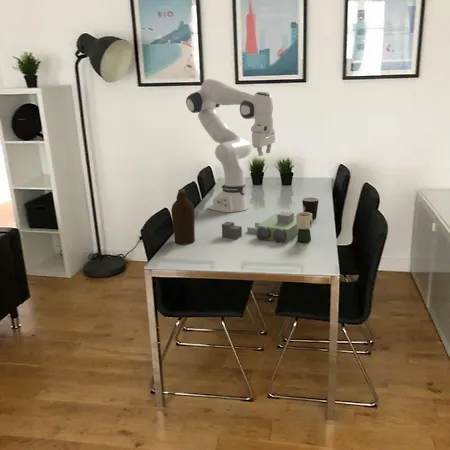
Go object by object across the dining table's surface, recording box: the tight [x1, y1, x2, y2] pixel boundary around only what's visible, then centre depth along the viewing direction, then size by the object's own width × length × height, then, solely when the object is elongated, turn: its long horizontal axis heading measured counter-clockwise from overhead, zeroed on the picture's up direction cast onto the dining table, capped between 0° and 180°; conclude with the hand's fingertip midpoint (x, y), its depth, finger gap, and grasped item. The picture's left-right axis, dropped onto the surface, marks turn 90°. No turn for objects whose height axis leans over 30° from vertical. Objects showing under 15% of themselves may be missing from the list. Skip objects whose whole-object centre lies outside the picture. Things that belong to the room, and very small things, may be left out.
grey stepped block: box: [221, 221, 243, 240], centre depth 245 cm, size 8×5×6 cm, turn 61°
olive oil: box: [170, 188, 196, 246], centre depth 238 cm, size 11×11×25 cm
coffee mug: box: [301, 196, 320, 220], centre depth 272 cm, size 12×9×10 cm
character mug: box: [295, 211, 313, 243], centre depth 234 cm, size 11×7×13 cm, turn 179°
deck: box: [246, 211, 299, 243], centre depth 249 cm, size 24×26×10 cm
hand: (264, 154), depth 256 cm, fingers open, 8 cm apart
